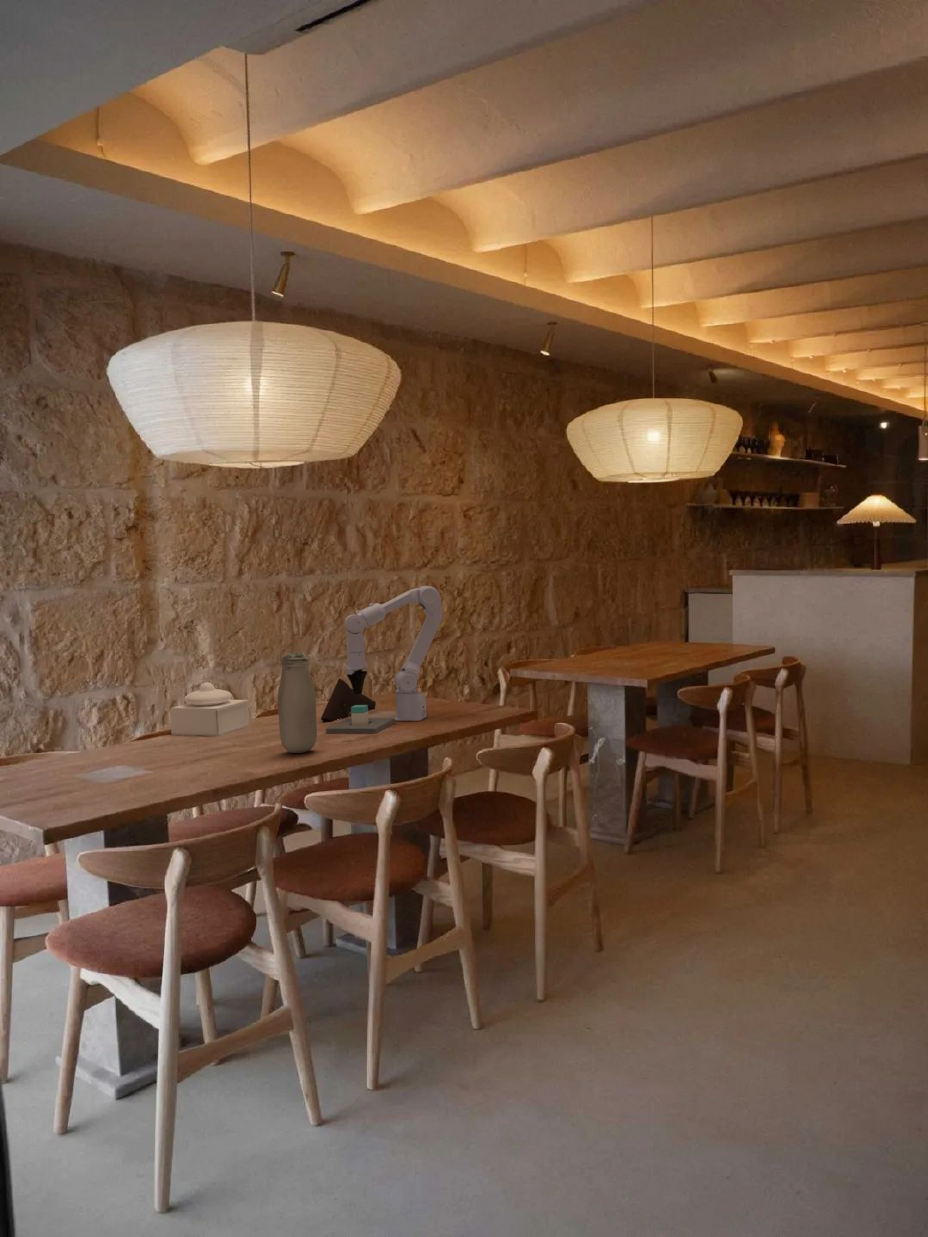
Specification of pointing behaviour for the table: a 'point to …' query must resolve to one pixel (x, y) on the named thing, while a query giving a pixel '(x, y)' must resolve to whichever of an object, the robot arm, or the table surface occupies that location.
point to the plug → (359, 715)
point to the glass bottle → (297, 704)
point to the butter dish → (209, 713)
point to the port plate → (361, 726)
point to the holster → (344, 702)
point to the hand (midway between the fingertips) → (358, 694)
